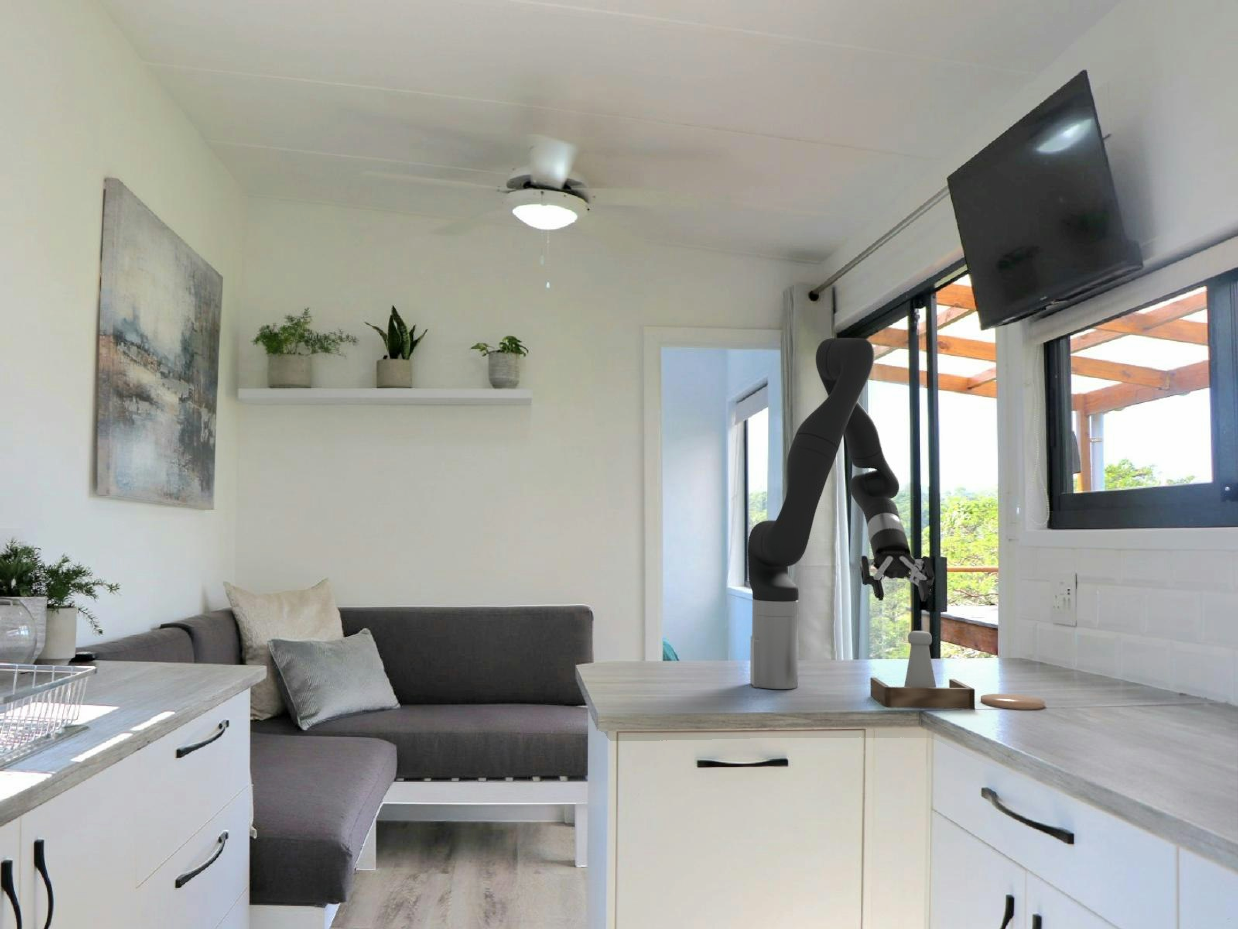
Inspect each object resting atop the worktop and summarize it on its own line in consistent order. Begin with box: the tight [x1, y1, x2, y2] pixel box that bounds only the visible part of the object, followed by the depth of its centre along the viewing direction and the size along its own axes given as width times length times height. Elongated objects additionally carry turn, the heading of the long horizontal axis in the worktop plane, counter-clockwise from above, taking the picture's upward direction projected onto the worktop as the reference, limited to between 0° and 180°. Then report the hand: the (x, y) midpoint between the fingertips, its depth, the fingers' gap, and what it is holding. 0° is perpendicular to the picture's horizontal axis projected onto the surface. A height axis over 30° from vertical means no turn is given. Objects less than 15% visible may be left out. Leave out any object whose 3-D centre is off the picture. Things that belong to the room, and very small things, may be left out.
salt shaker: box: [903, 630, 937, 688], centre depth 178 cm, size 6×6×13 cm
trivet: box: [980, 693, 1046, 711], centre depth 177 cm, size 11×11×1 cm
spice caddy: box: [869, 677, 976, 710], centre depth 177 cm, size 16×11×4 cm
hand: (903, 598), depth 190 cm, fingers open, 8 cm apart
